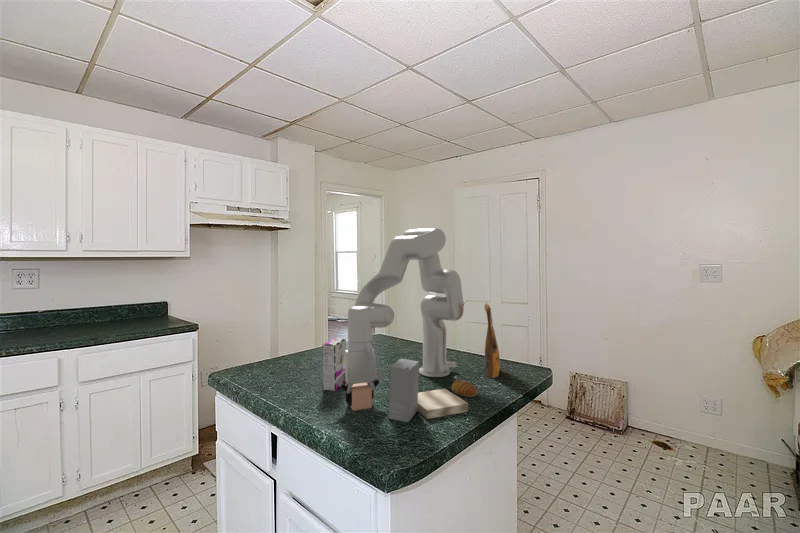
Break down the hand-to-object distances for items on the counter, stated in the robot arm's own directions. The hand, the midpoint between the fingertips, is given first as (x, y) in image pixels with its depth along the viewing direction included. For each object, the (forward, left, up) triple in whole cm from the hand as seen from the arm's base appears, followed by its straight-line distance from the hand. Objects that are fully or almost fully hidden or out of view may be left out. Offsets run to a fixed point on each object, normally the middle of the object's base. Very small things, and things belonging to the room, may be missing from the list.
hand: (359, 402), depth 117 cm
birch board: (-22, +10, -1) cm, 24 cm away
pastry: (-37, +3, -1) cm, 37 cm away
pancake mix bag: (-60, -13, -1) cm, 61 cm away
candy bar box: (+3, -21, -1) cm, 21 cm away
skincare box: (-10, +12, -1) cm, 16 cm away
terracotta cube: (0, 0, -1) cm, 1 cm away
